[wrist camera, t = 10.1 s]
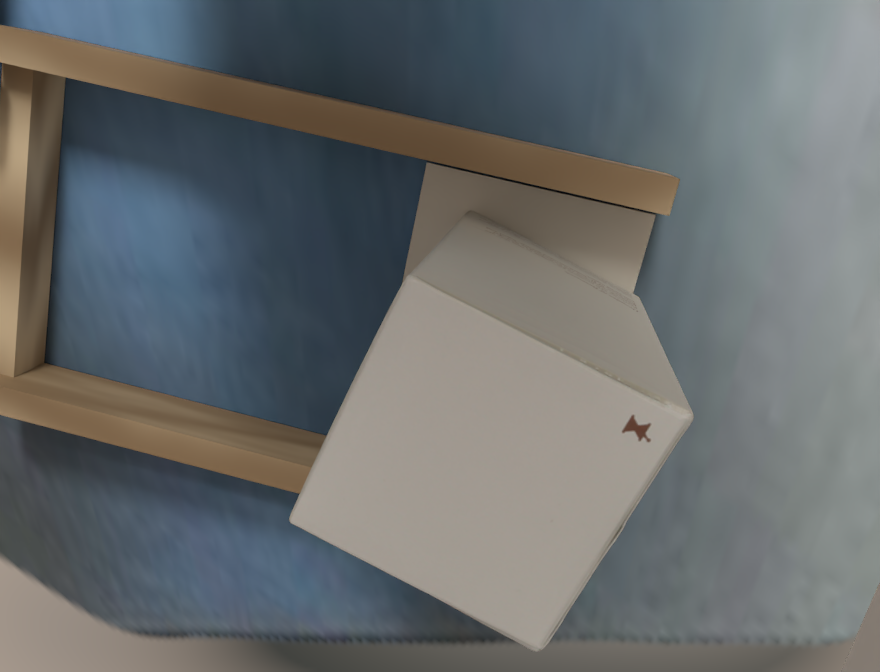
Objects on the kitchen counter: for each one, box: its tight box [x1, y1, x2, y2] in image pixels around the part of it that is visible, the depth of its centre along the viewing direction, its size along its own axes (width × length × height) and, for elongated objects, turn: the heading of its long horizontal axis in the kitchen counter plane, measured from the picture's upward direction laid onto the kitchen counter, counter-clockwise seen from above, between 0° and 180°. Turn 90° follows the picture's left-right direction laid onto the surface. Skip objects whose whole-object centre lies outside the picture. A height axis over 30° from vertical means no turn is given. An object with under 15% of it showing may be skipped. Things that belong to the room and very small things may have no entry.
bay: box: [0, 25, 680, 494], centre depth 30 cm, size 14×24×3 cm, turn 78°
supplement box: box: [289, 210, 694, 652], centre depth 24 cm, size 7×7×13 cm
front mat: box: [402, 162, 656, 294], centre depth 31 cm, size 11×8×1 cm
